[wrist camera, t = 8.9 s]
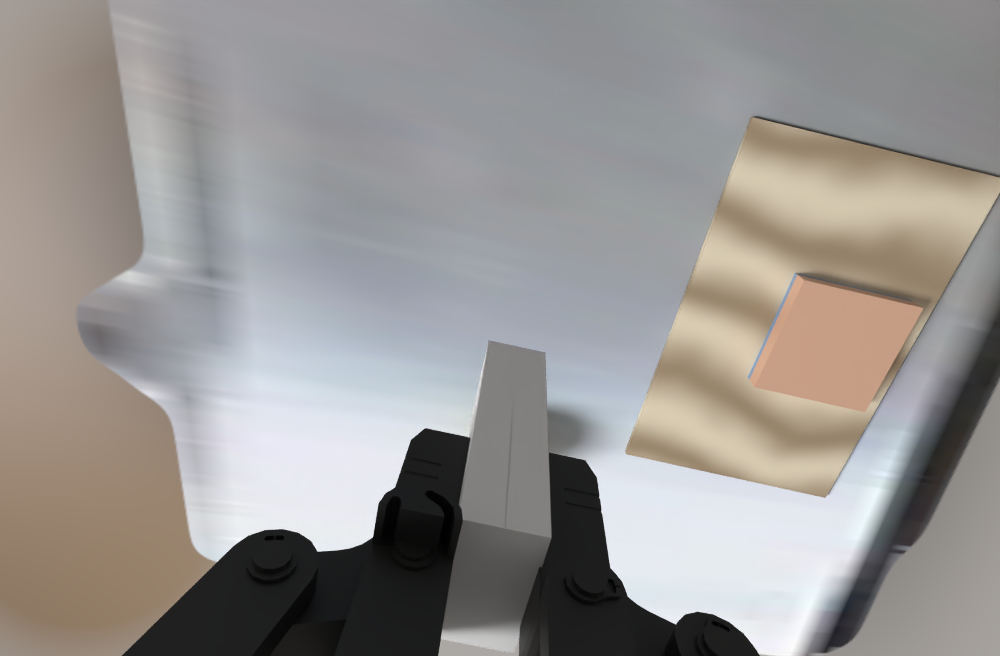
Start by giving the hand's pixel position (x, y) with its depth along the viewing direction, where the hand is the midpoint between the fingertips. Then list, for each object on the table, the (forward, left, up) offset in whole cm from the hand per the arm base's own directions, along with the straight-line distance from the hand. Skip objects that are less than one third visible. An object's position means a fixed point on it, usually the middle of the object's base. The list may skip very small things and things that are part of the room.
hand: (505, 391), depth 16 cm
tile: (+6, +21, -28) cm, 36 cm away
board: (+6, +23, -29) cm, 38 cm away
